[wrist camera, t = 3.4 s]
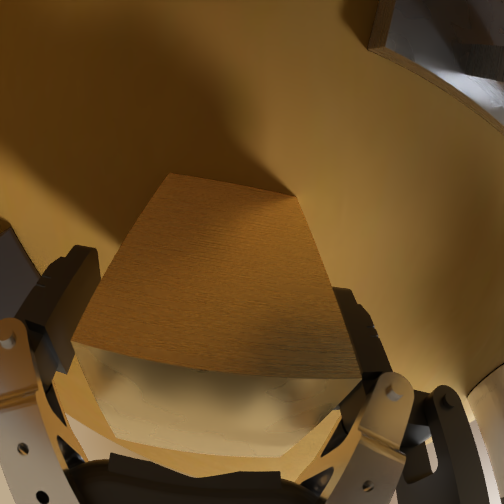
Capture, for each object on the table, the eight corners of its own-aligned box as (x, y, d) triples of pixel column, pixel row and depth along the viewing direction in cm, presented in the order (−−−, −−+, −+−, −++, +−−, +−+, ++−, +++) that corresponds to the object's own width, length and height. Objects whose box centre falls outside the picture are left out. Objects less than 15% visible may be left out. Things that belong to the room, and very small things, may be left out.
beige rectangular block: (296, 196, 11) (362, 378, 5) (265, 291, 14) (279, 457, 7) (169, 172, 10) (70, 340, 4) (161, 274, 13) (116, 437, 6)
